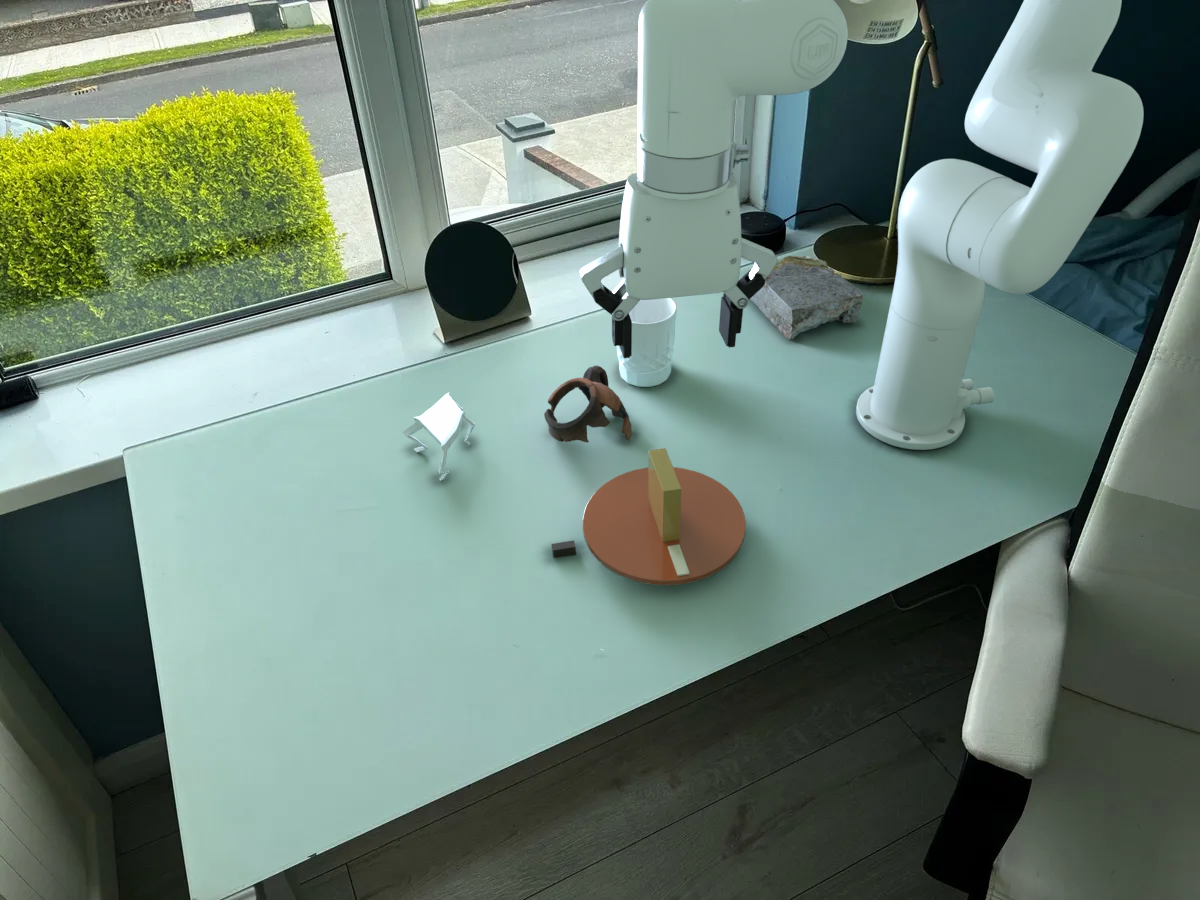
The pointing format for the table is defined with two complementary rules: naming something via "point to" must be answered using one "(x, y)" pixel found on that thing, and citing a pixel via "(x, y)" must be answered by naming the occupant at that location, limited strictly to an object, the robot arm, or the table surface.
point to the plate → (640, 537)
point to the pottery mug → (593, 416)
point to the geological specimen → (806, 296)
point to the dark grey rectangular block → (563, 549)
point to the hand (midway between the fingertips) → (676, 344)
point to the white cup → (650, 343)
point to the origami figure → (441, 427)
